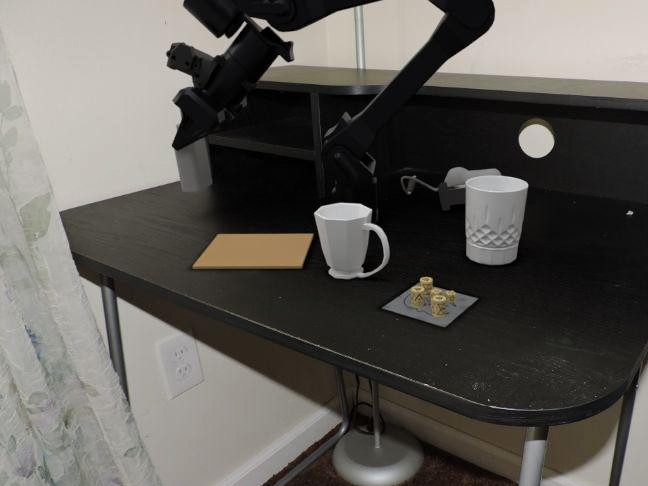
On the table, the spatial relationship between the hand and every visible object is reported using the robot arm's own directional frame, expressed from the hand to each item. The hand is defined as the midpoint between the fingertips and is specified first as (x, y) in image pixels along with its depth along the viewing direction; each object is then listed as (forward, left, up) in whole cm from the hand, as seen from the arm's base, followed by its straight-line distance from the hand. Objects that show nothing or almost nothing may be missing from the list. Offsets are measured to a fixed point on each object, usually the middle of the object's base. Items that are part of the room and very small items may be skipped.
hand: (181, 144), depth 86 cm
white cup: (-45, +16, -12) cm, 49 cm away
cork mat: (-13, +14, -12) cm, 23 cm away
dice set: (-36, +30, -12) cm, 49 cm away
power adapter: (-1, 0, -7) cm, 7 cm away
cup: (-27, +22, -12) cm, 37 cm away
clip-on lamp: (-41, -10, -12) cm, 44 cm away
